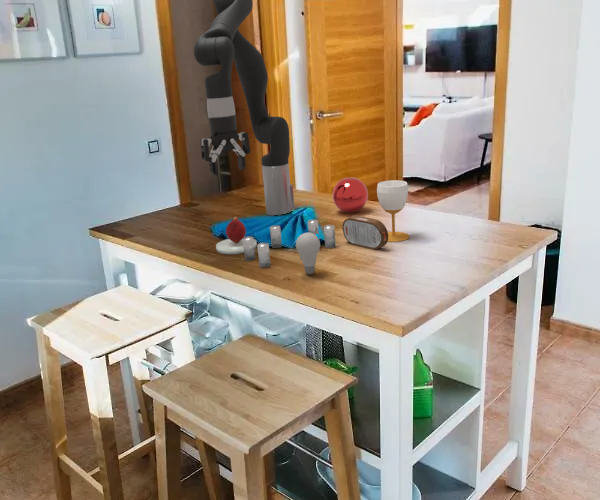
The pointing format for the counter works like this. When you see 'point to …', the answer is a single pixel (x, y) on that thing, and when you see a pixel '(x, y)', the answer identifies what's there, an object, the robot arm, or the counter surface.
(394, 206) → the cup
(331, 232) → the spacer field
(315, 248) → the lightbulb
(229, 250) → the dish
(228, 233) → the onion
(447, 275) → the counter surface
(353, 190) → the ball
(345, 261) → the counter surface
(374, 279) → the counter surface
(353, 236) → the tin
